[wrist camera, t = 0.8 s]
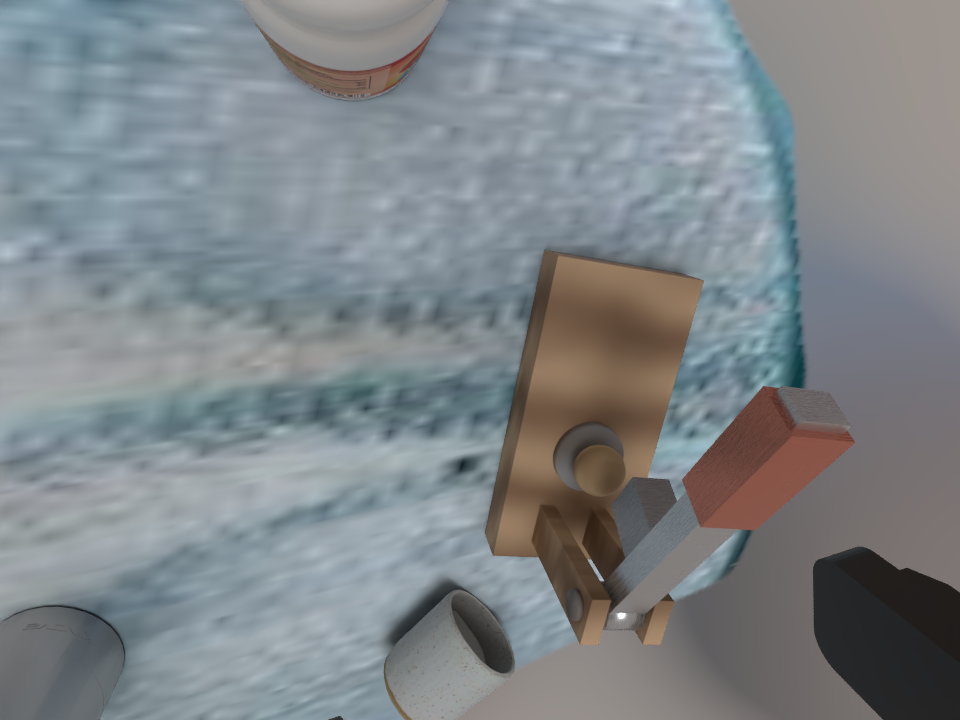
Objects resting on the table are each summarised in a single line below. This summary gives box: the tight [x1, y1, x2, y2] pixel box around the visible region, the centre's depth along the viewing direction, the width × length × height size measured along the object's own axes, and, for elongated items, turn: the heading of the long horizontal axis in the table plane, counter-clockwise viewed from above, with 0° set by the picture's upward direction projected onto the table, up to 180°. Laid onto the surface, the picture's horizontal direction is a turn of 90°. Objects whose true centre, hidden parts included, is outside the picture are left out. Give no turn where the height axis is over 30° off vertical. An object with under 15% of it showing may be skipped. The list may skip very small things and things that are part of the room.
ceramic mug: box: [384, 590, 515, 720], centre depth 46 cm, size 11×8×8 cm
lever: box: [600, 386, 855, 630], centre depth 31 cm, size 21×3×6 cm, turn 167°
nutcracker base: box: [485, 250, 704, 645], centre depth 39 cm, size 23×11×14 cm, turn 170°
